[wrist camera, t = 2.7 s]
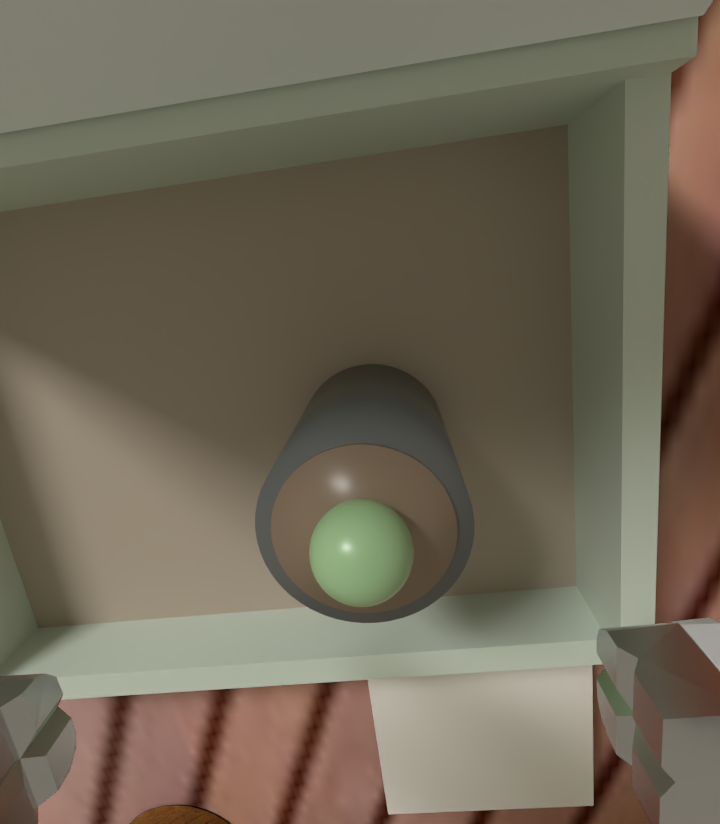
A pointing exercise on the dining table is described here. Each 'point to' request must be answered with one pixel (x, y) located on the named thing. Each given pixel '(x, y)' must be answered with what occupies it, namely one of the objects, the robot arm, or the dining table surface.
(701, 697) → the robot arm
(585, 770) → the stone tile
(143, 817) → the disposable coffee cup
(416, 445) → the nursery pot
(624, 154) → the pale grey-green hollow box
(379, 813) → the dining table surface
